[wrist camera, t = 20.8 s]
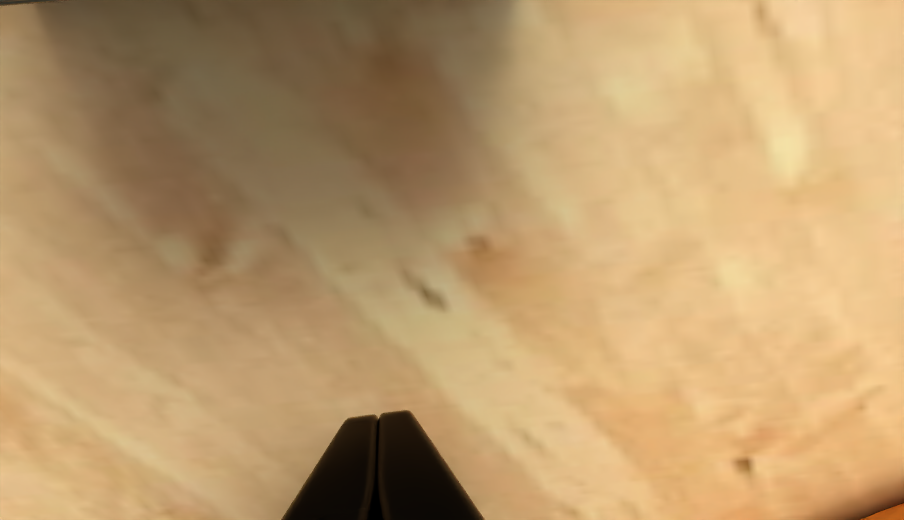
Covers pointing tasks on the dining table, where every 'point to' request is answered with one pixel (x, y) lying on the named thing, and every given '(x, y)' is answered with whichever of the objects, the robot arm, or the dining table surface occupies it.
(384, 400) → the dining table surface
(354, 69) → the dining table surface
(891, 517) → the coffee package
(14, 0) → the carton
